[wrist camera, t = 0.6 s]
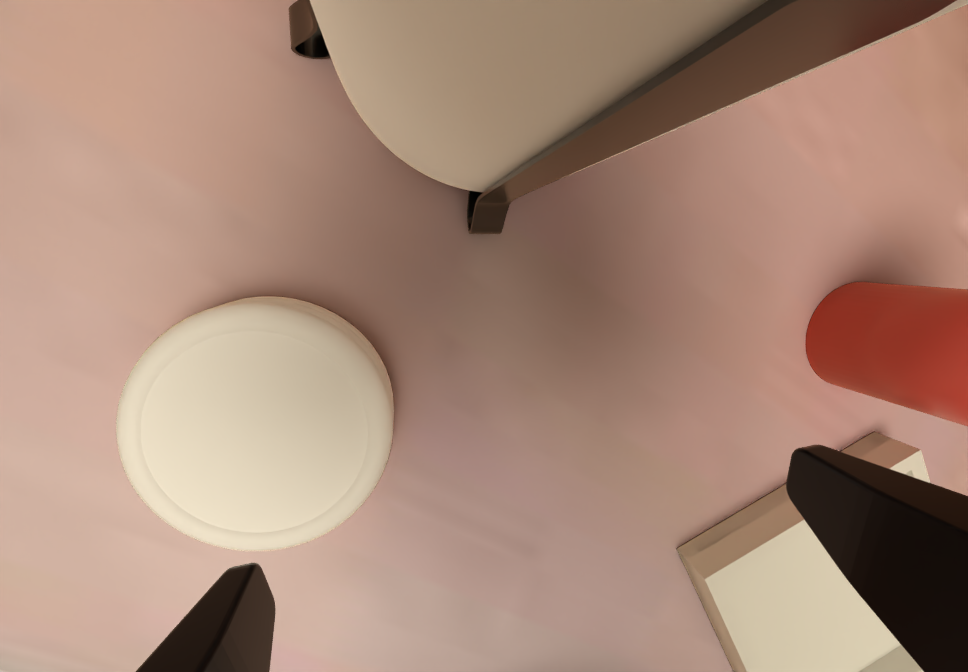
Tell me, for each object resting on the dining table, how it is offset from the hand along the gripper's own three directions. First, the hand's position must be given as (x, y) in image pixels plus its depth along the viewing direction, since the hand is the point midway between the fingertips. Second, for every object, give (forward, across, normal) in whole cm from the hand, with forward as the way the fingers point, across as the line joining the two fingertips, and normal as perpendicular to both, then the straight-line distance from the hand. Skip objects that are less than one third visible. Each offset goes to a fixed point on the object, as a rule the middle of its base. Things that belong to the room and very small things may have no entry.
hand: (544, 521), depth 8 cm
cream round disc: (+14, +8, +5) cm, 17 cm away
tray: (+11, -18, +21) cm, 30 cm away
